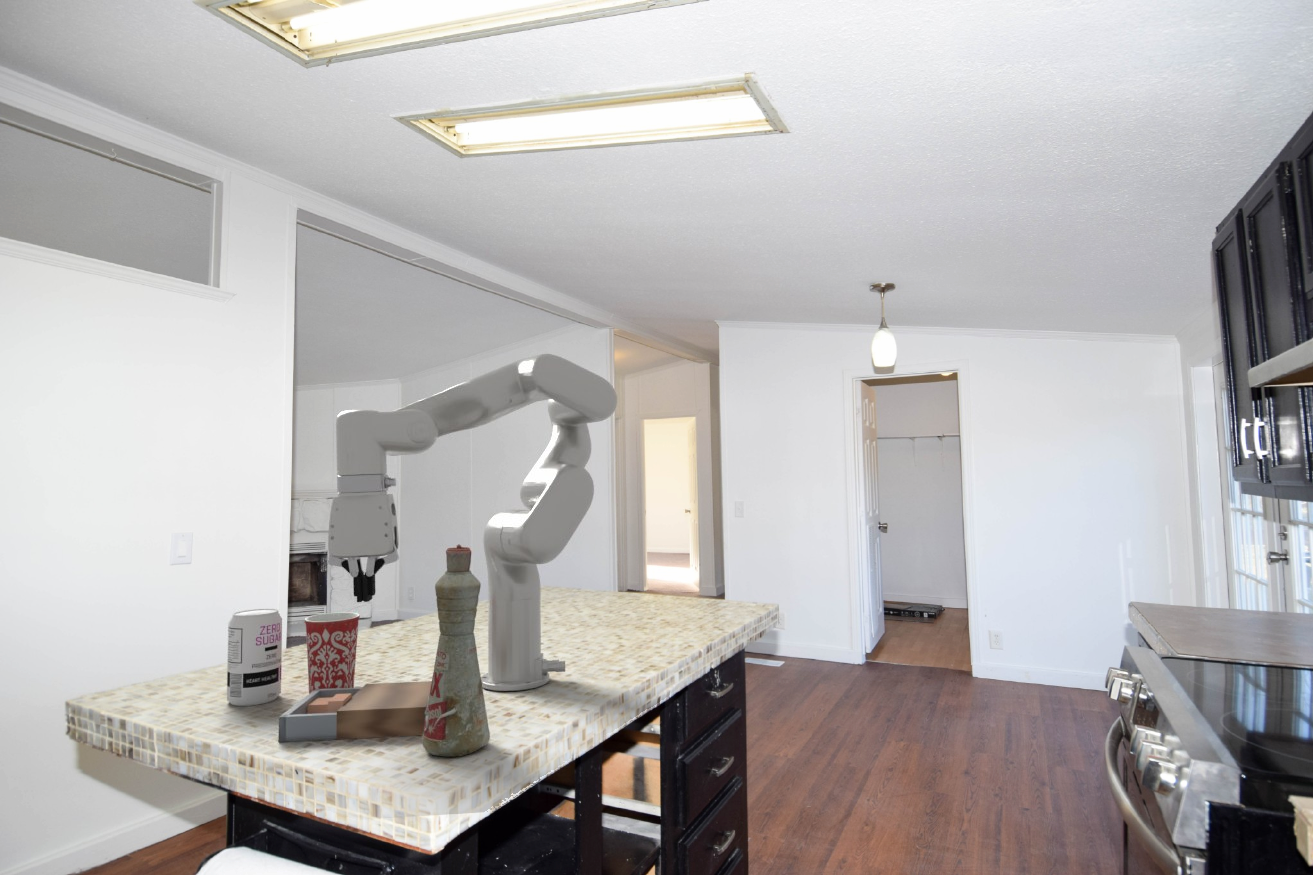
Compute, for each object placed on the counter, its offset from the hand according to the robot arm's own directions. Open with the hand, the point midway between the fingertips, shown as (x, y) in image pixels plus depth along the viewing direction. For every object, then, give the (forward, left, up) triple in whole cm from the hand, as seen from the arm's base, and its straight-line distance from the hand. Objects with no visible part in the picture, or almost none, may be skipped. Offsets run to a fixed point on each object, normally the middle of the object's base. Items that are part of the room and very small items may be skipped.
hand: (364, 600), depth 121 cm
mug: (+10, -16, -18) cm, 26 cm away
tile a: (+1, +6, -16) cm, 17 cm away
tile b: (+6, +1, -15) cm, 16 cm away
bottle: (-17, +18, -18) cm, 31 cm away
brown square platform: (-6, +4, -18) cm, 19 cm away
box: (+5, +4, -18) cm, 19 cm away
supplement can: (+22, -12, -18) cm, 31 cm away
